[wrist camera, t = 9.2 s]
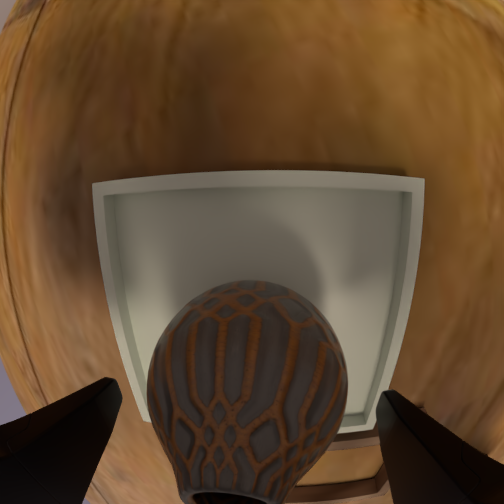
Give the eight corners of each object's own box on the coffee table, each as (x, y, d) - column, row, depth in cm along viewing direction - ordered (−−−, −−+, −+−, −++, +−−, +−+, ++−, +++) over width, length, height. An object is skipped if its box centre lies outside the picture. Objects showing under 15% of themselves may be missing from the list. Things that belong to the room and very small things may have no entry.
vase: (164, 276, 12) (37, 406, 4) (317, 243, 12) (399, 393, 3) (208, 390, 14) (166, 530, 6) (336, 372, 13) (369, 525, 5)
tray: (409, 177, 11) (424, 178, 10) (367, 412, 15) (372, 429, 13) (109, 181, 12) (91, 183, 11) (151, 405, 16) (143, 420, 14)
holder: (423, 407, 14) (432, 424, 13) (381, 481, 17) (384, 494, 16) (265, 422, 15) (264, 444, 14) (263, 491, 18) (262, 506, 16)
